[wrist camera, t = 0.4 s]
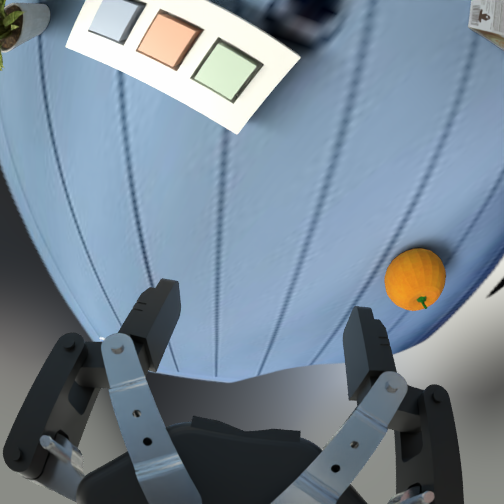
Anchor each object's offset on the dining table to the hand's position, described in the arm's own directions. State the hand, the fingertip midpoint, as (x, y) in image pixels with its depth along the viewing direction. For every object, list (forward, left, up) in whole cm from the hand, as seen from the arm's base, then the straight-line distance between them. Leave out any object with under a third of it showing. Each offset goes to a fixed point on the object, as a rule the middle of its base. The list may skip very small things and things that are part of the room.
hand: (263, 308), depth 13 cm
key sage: (-7, +2, -24) cm, 25 cm away
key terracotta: (-14, +2, -24) cm, 28 cm away
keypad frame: (-14, +2, -26) cm, 30 cm away
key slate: (-21, +2, -24) cm, 32 cm away
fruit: (+36, -5, -27) cm, 45 cm away
